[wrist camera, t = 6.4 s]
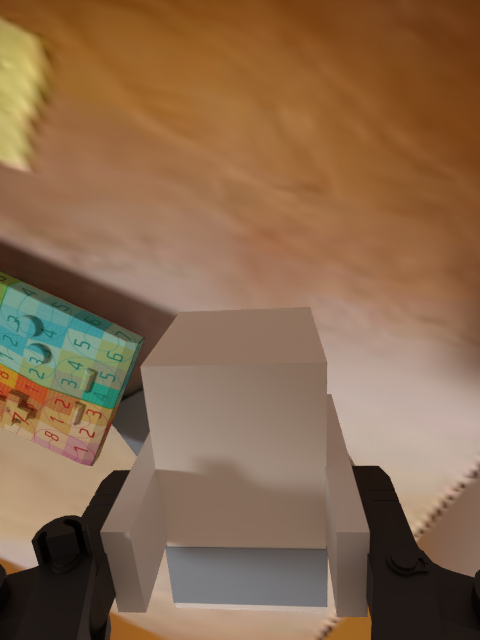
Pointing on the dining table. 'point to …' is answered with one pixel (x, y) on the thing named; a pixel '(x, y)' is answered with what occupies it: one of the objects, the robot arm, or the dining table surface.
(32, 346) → the puzzle game
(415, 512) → the dining table surface
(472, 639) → the robot arm
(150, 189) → the dining table surface
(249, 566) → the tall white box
